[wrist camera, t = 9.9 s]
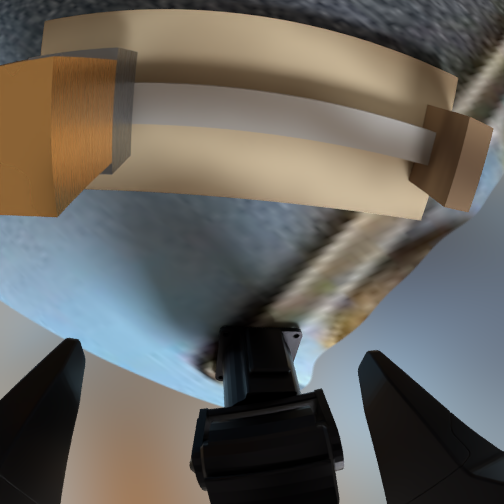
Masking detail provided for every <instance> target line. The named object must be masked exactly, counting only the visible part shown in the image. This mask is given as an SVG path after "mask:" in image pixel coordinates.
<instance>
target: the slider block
mask: <svg viewBox="0 0 504 504" xmlns="http://www.w3.org/2000/svg"><path fill="white" fill-rule="evenodd" d="M137 54H138V52H136V51H132V50H127V49H123V48H119V47H116V48H100V49H88V50H78V51H70V52H62V53H55V54H48V55H42V56H36V57H30V58H28V61H23V62H18V63H13V64H9V65H4V66H0V215H17V216H41V217H58V216H59V215H60V214H61V213H62V212H63V211H64V210H65V208H66V207H67V206H68V205H69V204H70V203H71V202H72V201H73V200H74V199H75V198H76V197H77V196H78V195H79V194H80V193H81V192H82V191H83V190H84V189H85V188H86V187H87V186H88V185H89V184H90V183H91V182H92V181H93V180H94V179H95V178H96V177H97V176H98V175H99V174H107V175H112V174H113V173H114V172H115V171H116V170H117V169H118V168H119V167H120V166H121V165H122V164H123V163H124V162H125V161H126V160H127V159H128V158H129V157H130V156H131V131H132V111H133V96H134V84H135V73H136V63H137Z"/></svg>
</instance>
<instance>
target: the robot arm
mask: <svg viewBox="0 0 504 504" xmlns="http://www.w3.org/2000/svg"><path fill="white" fill-rule="evenodd" d="M225 332H228V333H225ZM295 334H296V335H295ZM301 338H302V332H301V330H300V329H298V328H260V327H232V326H224V327H222V328H221V329H220V332H219V342H218V352H217V362H216V373H215V378H216V379H217V380H219V381H223V386H224V405H225V407H224V408H216V409H208V408H206V409H200V412H199V418H198V419H197V424H196V431H195V436H194V443H193V448H192V455H191V461H190V469H191V470H192V471H193V472H194V473H195V474H196V477H197V481H198V483H199V485H200V487H201V488H202V490H204V491H208V495H209V499H210V503H211V504H339V493H338V486H337V480H336V473H335V471H338V470H342V469H343V468H344V458H343V450H342V445H341V440H340V436H339V433H338V429H337V427H336V423H335V421H334V418H333V416H332V413H331V411H330V408H329V405H328V403H327V400H326V398H325V395H324V393H323V390H322V389H317V390H314V392H309V393H305V394H301V392H300V388H299V384H298V380H297V376H296V371H295V367H294V363H293V362H294V359H295V356H296V353H297V350H298V347H299V344H300V341H301ZM84 369H85V355H84V352H83V349H82V346H81V343H80V341H79V340H78V339H74V338H66V339H65V340H64V341H62V342H61V343H60V344H59V345H58V346H57V347H56V348H55V349H54V350H53V351H52V352H50V353H49V354H48V355H47V356H46V357H45V358H44V359H43V360H42V361H41V362H40V363H38V364H37V366H35V367H34V368H33V369H32V370H31V371H30V372H29V373H28V374H27V375H26V376H25V377H24V378H23V379H21V380H20V382H18V383H17V384H16V385H15V386H14V387H13V388H12V389H11V390H10V391H9V392H8V393H7V394H6V395H5V396H4V397H3V398H2V399H1V400H0V504H60V503H61V495H62V488H63V483H64V477H65V471H66V465H67V460H68V455H69V449H70V445H71V439H72V435H73V431H74V426H75V421H76V418H77V413H78V409H79V403H80V396H81V388H82V382H83V375H84ZM358 376H359V382H360V388H361V394H362V400H363V405H364V406H363V407H364V412H365V416H366V420H367V423H368V427H369V431H370V435H371V438H372V442H373V446H374V450H375V454H376V458H377V462H378V466H379V470H380V475H381V479H382V483H383V487H384V491H385V496H386V501H387V504H504V451H502V450H500V449H498V448H497V447H495V446H494V445H493V444H491V443H490V442H488V441H487V440H486V439H484V438H483V437H481V436H480V435H479V434H477V433H476V432H475V431H473V430H472V429H470V428H469V427H468V426H467V425H465V424H464V423H463V422H462V421H461V420H459V419H458V418H457V417H456V416H455V415H454V414H452V413H450V411H449V410H448V409H447V408H445V407H444V406H443V405H442V404H441V403H440V402H438V401H437V400H436V399H435V398H434V397H433V396H432V395H430V394H429V393H428V392H427V391H426V390H425V389H424V388H422V387H421V386H420V385H419V384H418V383H417V382H415V381H414V380H413V379H412V378H411V377H410V376H409V375H407V374H406V373H405V372H404V371H403V370H402V369H400V368H399V367H398V366H397V365H396V364H394V363H393V362H392V361H391V360H390V359H389V358H388V357H386V356H385V355H384V354H383V353H382V352H380V351H378V350H373V351H368V352H366V354H365V356H364V358H363V360H362V362H361V364H360V365H359V368H358Z"/></svg>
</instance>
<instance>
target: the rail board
mask: <svg viewBox="0 0 504 504" xmlns="http://www.w3.org/2000/svg"><path fill="white" fill-rule="evenodd" d="M116 47H119V48H123V49H127V50H132V51H136V52H138V54H137V63H136V73H135V84H134V96H133V111H132V131H131V156H130V157H129V158H128V159H127V160H126V161H125V162H124V163H123V164H122V165H121V166H120V167H119V168H118V169H117V170H116V171H115V172H114V173H113V174H112V175H107V174H99V175H98V176H97V177H96V178H95V179H94V180H93V181H92V182H91V183H90V184H89V185H88V186H87V187H86V188H85V189H95V190H122V191H143V192H161V193H177V194H192V195H205V196H218V197H230V198H242V199H253V200H263V201H274V202H283V203H293V204H302V205H311V206H319V207H328V208H336V209H344V210H352V211H359V212H367V213H374V214H381V215H388V216H395V217H402V218H408V219H415V220H421V218H422V215H423V212H424V209H425V206H426V203H427V200H428V197H429V196H430V197H432V198H433V199H435V200H436V201H437V202H439V203H440V204H441V205H442V206H444V207H447V208H451V209H456V210H461V211H465V212H469V209H470V207H471V204H472V201H473V198H474V195H475V192H476V189H477V186H478V183H479V180H480V176H481V173H482V170H483V166H484V163H485V159H486V156H487V152H488V148H489V144H490V141H491V137H492V132H493V128H492V127H490V126H488V125H486V124H484V123H482V122H479V121H477V120H475V119H473V118H471V117H468V116H465V115H462V114H459V113H456V112H452V107H453V102H454V97H455V92H456V86H457V81H458V78H457V77H455V76H453V75H451V74H449V73H447V72H445V71H443V70H441V69H438V68H436V67H434V66H432V65H429V64H427V63H425V62H422V61H420V60H418V59H415V58H413V57H410V56H408V55H405V54H403V53H400V52H397V51H395V50H392V49H389V48H386V47H383V46H381V45H378V44H375V43H372V42H369V41H365V40H362V39H359V38H356V37H352V36H349V35H345V34H342V33H338V32H334V31H331V30H327V29H323V28H319V27H314V26H310V25H305V24H301V23H296V22H291V21H286V20H280V19H274V18H268V17H262V16H255V15H247V14H239V13H229V12H218V11H205V10H182V9H148V10H125V11H112V12H101V13H92V14H84V15H77V16H70V17H64V18H58V19H53V20H48V21H45V23H44V31H43V39H42V48H41V56H42V55H48V54H55V53H62V52H70V51H78V50H88V49H100V48H116ZM23 61H28V60H22V61H17V62H13V63H18V62H23ZM13 63H8V64H4V65H9V64H13ZM4 65H0V66H4Z"/></svg>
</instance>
